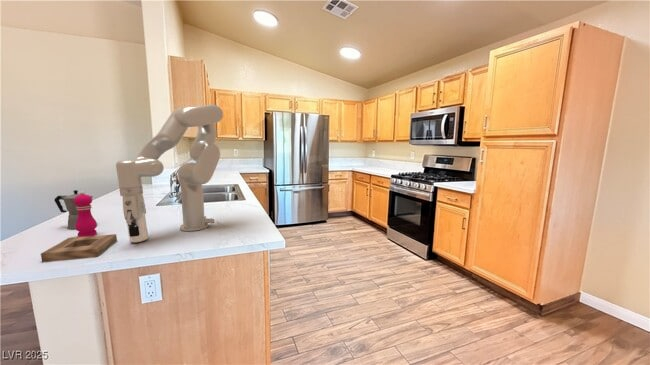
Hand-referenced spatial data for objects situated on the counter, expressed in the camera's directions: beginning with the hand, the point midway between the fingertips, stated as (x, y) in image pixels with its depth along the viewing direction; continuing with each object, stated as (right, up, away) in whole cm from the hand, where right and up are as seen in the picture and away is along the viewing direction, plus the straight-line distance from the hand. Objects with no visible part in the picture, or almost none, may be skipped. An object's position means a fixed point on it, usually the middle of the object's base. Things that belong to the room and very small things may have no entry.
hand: (137, 233), depth 111 cm
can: (0, -3, +1) cm, 3 cm away
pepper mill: (-27, -3, +7) cm, 28 cm away
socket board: (-15, -5, -9) cm, 18 cm away
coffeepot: (-42, -1, +19) cm, 46 cm away
